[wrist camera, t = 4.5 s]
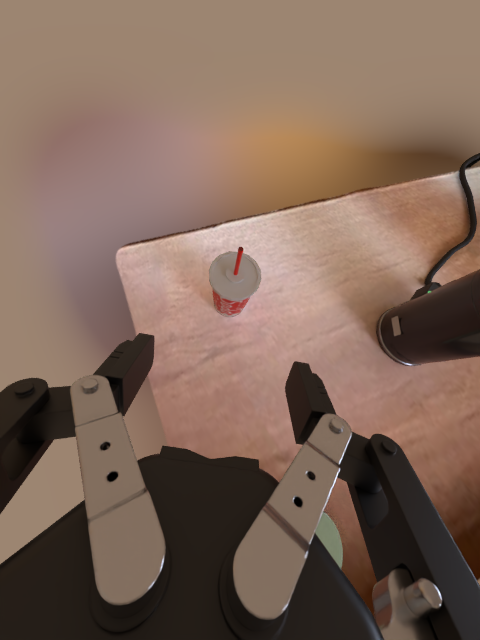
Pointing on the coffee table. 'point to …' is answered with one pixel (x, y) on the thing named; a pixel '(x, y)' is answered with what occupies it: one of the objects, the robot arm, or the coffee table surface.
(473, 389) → the coffee table surface
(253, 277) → the beverage cup
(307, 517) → the robot arm
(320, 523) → the coaster
